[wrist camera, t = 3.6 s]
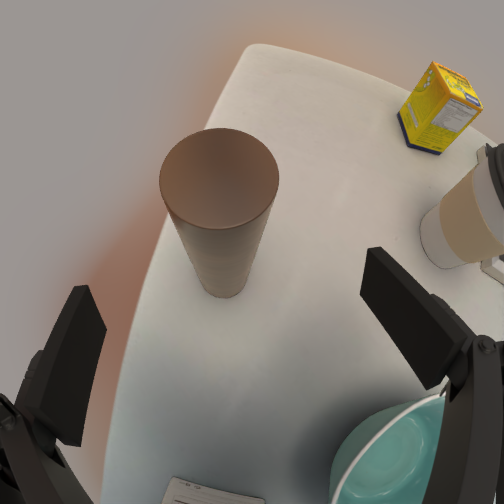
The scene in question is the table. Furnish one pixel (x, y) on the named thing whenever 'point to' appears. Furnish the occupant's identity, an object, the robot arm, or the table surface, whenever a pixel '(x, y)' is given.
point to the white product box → (202, 495)
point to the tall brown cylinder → (220, 203)
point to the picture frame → (500, 265)
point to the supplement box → (438, 109)
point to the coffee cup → (468, 217)
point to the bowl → (389, 455)
